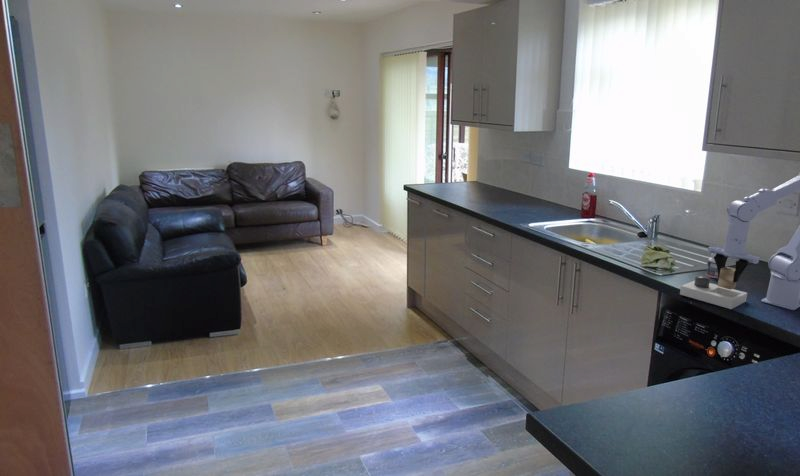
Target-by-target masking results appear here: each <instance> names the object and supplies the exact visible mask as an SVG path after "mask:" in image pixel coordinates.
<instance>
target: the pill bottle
mask: <svg viewBox="0 0 800 476" xmlns="http://www.w3.org/2000/svg"><path fill="white" fill-rule="evenodd" d="M715 255H716V254H713V253H710V257H709V258H708V260H707V265H706V271H705V276H707V277H709V278H713V279H719V278H718V270H717V265H716V262H715V260H714V256H715Z"/></svg>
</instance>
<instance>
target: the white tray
mask: <svg viewBox="0 0 800 476" xmlns="http://www.w3.org/2000/svg"><path fill="white" fill-rule="evenodd" d="M717 285H718V284H715V283H711V277H708V276H707V275H703V274H702V275H701V274H698V275H695V279H694V280H692V281H690V282H687V283H685V284H682V285H680V291H679V295H680V296H684V297H688V298H691V299H694V300H697V301H702V302H705V303H708V304H712V305H715V306H719V307H723V308H725V309H728V310H733V309H734V308H736V307H738V306H740V305H742V304H744V303H745V302H747V296H748V292H745V291H741V290H737V289H735V288H733V289H731V290H730V289H726V288H723V287H719V286H717Z"/></svg>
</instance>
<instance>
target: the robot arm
mask: <svg viewBox="0 0 800 476" xmlns="http://www.w3.org/2000/svg"><path fill="white" fill-rule="evenodd" d="M799 191H800V173H799V174H798V175H796V176H795V177H793V178H791V179H790V180H788V181H785V182H784V183H782V184H780V185H778V186H776V187H774V188H772V189H769V188H760V189H758V190H757V192H756V193H754V194H752V195H749V196H745V197H743V199H741V200H740V199H737V200H734V201H732V202H731V203H730V204H729V205H728V207H726V213H727V216H728V222H727V223H728V224H727V228H726V234H725V240H724V242H723V243H724V244H723V248H722V247H717V246H708V247H707V252H706V253H707V254H711V253H713V254H716V255H715V256H714V260H715V262H716V265H717V270H718V278H717V279H719V275H720V270H721V268H723V267H725V266H726V264H727V261H728V258H730V259H735V260H736V261H735V275H734V280H733V282H736V283H737V282H739V279H740V277H741V276H742V274H743V272H744V270H745V269H746V268H747V266H748V265H749V264H750V263H752V264H755V265H756V264H759V262H760V256H756V255H754V254H753V255H752V254H750V253H746V252H745V249H746V245H747V238H748V235H749V229H750V225H751V221H753V220H754V219H755V218H756V216H757V215H758V214H760V213H762V212H763V211H765V210H768V209H770V208H772V207H774V206H776V205H777V203H778V201H779V200H780V199H783V198H785V197H787V196H790V195H792V194H795V193H798V192H799ZM767 264H768V266H767V267H768V268H769V269H770V280H769V283H768V288H767V292H766V297H764V298H762V299H761V302H762V303H766V304H770V305H773V306H776V307H781V308H784V309H788V310H791V311H795V310H797V309H798V308H800V224H799V225H798V227H797V229H796V231H795V232H794V234H793V235H792V236H791V238H790V240H789V242H788V244H787V245H785V246H783V247H780V248H778V250H777V251H776V253H775V254H773V255H772V256H770V258H769V259H768V263H767Z"/></svg>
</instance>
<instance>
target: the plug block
mask: <svg viewBox="0 0 800 476" xmlns="http://www.w3.org/2000/svg"><path fill="white" fill-rule="evenodd" d="M735 269H736V267H735V268H734V267H731V266H726V265H725V267H723V268H721V270H720V275H719V278H718V281H717V284H716V285H717V286H719V287H723V288H726V289H730V290H731V289H735V288H736V286H737V282H733V280H734V275H735Z"/></svg>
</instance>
